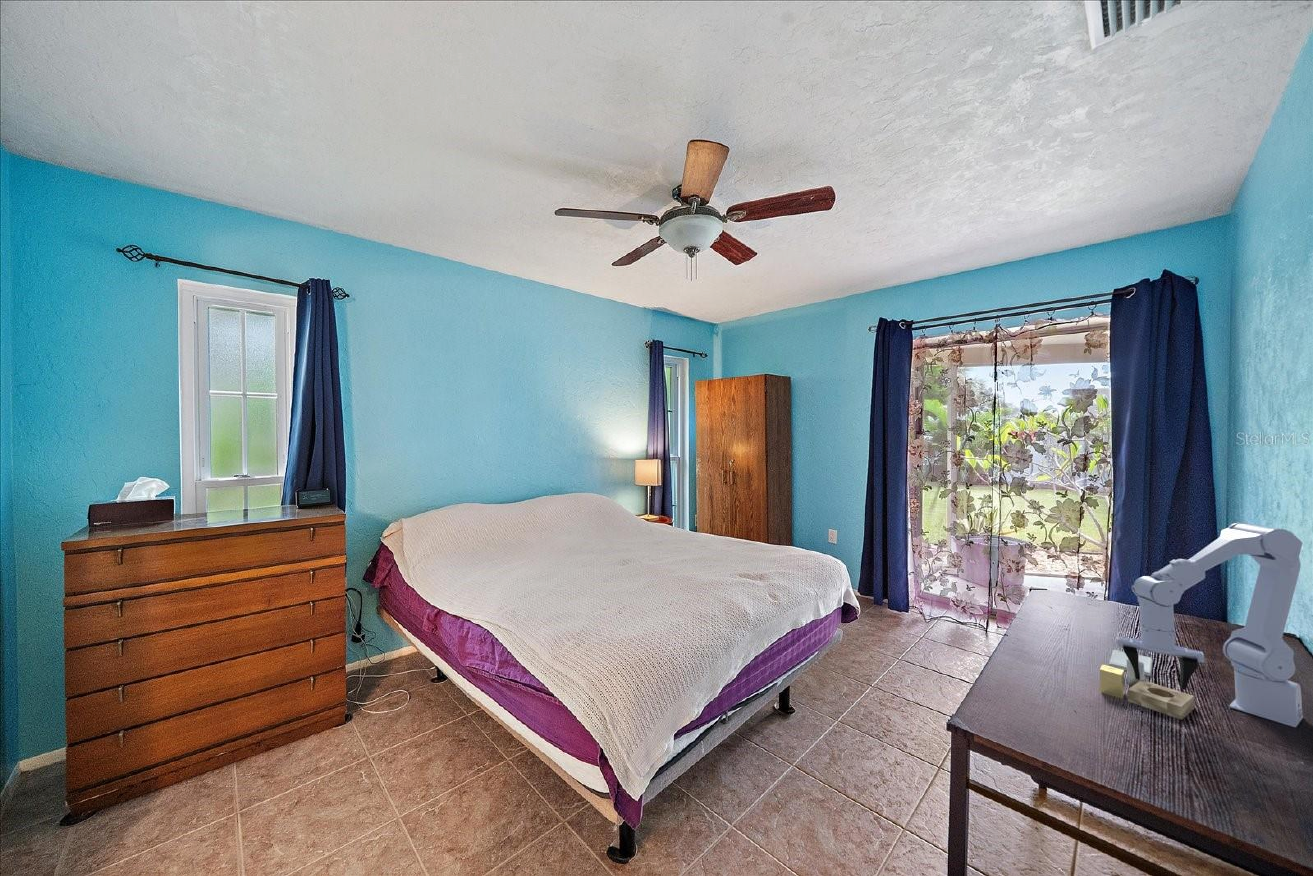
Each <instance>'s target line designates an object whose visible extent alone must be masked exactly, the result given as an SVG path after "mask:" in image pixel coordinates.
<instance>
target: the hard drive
mask: <svg viewBox="0 0 1313 876" xmlns="http://www.w3.org/2000/svg"><path fill="white" fill-rule="evenodd" d="M1138 656H1139V657H1138V661H1140V662H1142V663H1143V664H1144V676H1147V677H1151V676H1152V670H1153V658H1152V657H1149V656H1145V655H1141V654H1138ZM1126 660H1128V657H1127V656H1126V654H1125V652H1124V650H1118V649H1113V650H1112V653H1111V656H1110V660H1109V663H1108V664H1109V665H1108V666H1111V667H1114V668H1118V669H1122V670H1124V671H1125V672H1127V661H1126Z"/></svg>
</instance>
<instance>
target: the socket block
mask: <svg viewBox="0 0 1313 876" xmlns="http://www.w3.org/2000/svg"><path fill="white" fill-rule="evenodd" d="M1127 697H1128V702H1129V703H1132V704H1134V705H1138V706H1141V707H1143V708H1147V709H1149V710H1152V711H1155V712H1158V713H1161V714H1163V715H1167V716H1170V717H1172V718H1175V719H1178V720H1181V721H1182V720H1184V719H1185V718H1186V717H1188V715H1189V714H1190V713H1191V712H1192V711H1193V710H1195V696H1194V695H1192V694H1189V693H1186V692H1183V691H1179V690H1176V689H1173V688H1170V687H1167V686H1164V685H1159V684H1157V683H1154V682H1150V681H1147V680H1145V681H1144V680H1141V681H1139V682H1138V683H1136V684H1135V685H1134V686H1131V687H1129V688H1128V689H1127Z"/></svg>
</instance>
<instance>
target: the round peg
mask: <svg viewBox="0 0 1313 876" xmlns="http://www.w3.org/2000/svg"><path fill="white" fill-rule="evenodd" d="M1126 661H1127V671H1126V678H1127V684H1128V685H1129V686H1131V687H1132V686H1134V685H1135V684H1136V683H1138V682H1139V681H1141V680H1144V681H1146V680H1145V679H1146V678H1145V675H1144V664H1143V663H1142V662H1140V661H1138V665H1139V673H1140V680H1138V679H1136V678H1135V673H1134V669H1133V667H1132V665H1131V663H1130V661H1129V659H1128V660H1126Z"/></svg>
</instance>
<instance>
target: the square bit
mask: <svg viewBox="0 0 1313 876" xmlns="http://www.w3.org/2000/svg"><path fill="white" fill-rule="evenodd" d="M1099 679H1100V681H1099V682H1100V693H1102V694H1105V695H1108V696H1112V697H1114V696H1115V697H1114V698H1119V699H1122V700H1123V699H1124V697H1125V695H1126V684H1125V683H1126V682H1125V670H1122V669H1118V668H1114V667H1111V666H1109V665H1106V664H1102V665H1101V666H1100V669H1099Z"/></svg>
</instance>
